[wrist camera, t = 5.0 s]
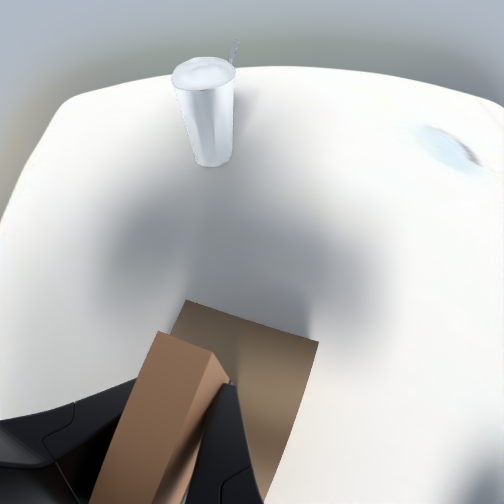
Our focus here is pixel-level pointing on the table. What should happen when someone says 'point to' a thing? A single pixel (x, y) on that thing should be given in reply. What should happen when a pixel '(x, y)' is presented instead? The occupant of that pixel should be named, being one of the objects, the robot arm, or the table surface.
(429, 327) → the table surface
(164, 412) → the brown rectangular block
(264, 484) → the brown display base
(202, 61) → the milkshake
